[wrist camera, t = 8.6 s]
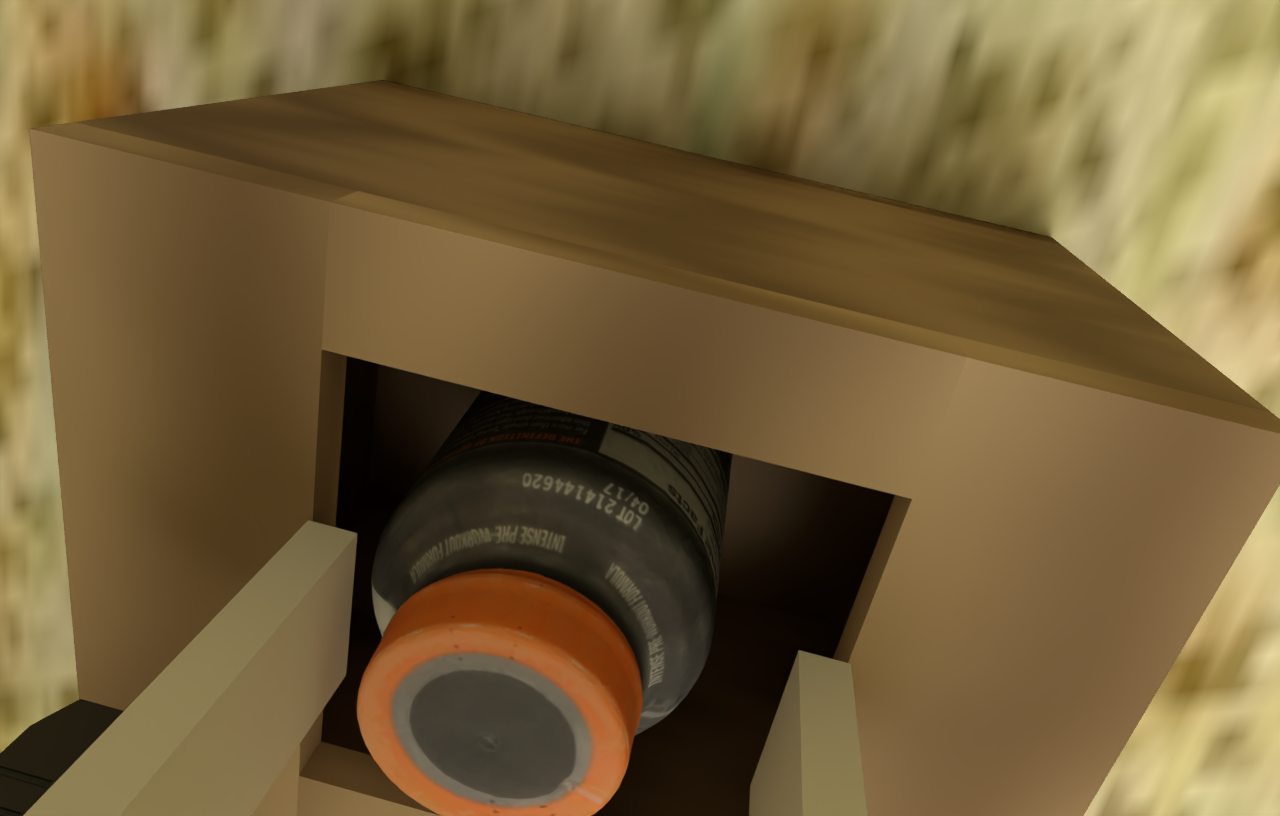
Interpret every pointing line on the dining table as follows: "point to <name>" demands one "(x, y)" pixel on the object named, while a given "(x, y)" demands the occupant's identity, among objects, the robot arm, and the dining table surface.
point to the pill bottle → (539, 608)
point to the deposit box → (638, 424)
